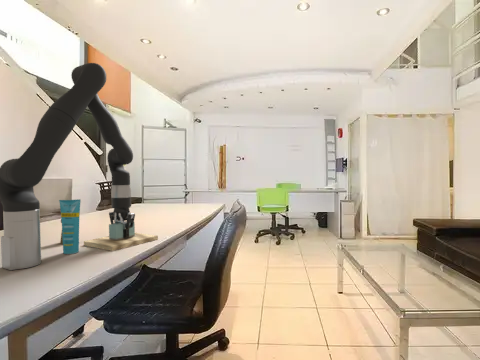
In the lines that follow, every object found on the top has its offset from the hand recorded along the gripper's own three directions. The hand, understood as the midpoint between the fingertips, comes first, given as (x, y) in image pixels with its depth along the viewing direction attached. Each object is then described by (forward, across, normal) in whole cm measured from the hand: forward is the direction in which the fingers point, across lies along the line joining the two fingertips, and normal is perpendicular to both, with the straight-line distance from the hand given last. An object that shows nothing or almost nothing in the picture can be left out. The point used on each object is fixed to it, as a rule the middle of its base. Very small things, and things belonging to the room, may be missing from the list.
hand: (122, 237), depth 125 cm
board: (+2, 0, 0) cm, 2 cm away
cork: (+2, -20, -11) cm, 23 cm away
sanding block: (0, 0, 0) cm, 0 cm away
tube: (+2, -2, -20) cm, 20 cm away
